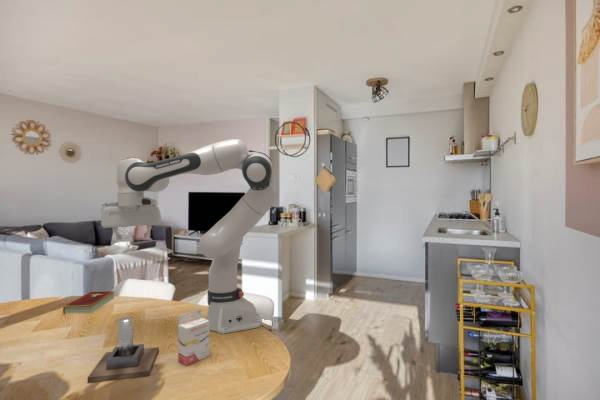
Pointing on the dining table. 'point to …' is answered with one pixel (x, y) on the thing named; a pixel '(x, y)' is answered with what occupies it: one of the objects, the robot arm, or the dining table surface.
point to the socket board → (123, 373)
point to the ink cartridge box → (192, 337)
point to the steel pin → (125, 336)
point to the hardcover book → (89, 302)
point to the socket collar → (125, 358)
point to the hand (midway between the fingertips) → (132, 238)
